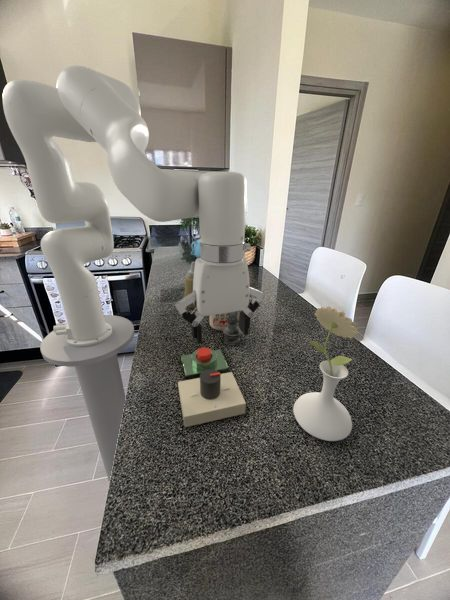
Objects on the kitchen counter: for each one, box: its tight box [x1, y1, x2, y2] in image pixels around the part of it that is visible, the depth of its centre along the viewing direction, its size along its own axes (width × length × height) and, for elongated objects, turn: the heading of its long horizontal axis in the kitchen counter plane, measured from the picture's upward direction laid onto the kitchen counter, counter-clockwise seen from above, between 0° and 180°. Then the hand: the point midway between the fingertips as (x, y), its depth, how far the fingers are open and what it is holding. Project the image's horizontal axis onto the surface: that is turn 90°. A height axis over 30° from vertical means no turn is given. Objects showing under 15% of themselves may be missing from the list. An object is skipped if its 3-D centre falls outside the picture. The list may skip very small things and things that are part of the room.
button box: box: [180, 348, 230, 381], centre depth 66 cm, size 11×8×4 cm
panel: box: [177, 371, 247, 428], centre depth 56 cm, size 13×10×3 cm
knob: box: [200, 369, 221, 400], centre depth 54 cm, size 4×4×5 cm
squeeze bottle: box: [183, 261, 196, 309], centre depth 96 cm, size 8×8×18 cm
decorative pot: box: [190, 238, 200, 259], centre depth 160 cm, size 16×16×14 cm
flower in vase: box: [293, 305, 359, 442], centre depth 48 cm, size 13×11×25 cm
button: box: [197, 347, 212, 361], centre depth 65 cm, size 4×4×2 cm
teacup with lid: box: [209, 310, 242, 332], centre depth 85 cm, size 12×9×12 cm
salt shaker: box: [222, 311, 243, 346], centre depth 76 cm, size 6×6×12 cm
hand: (221, 335), depth 50 cm, fingers open, 9 cm apart
